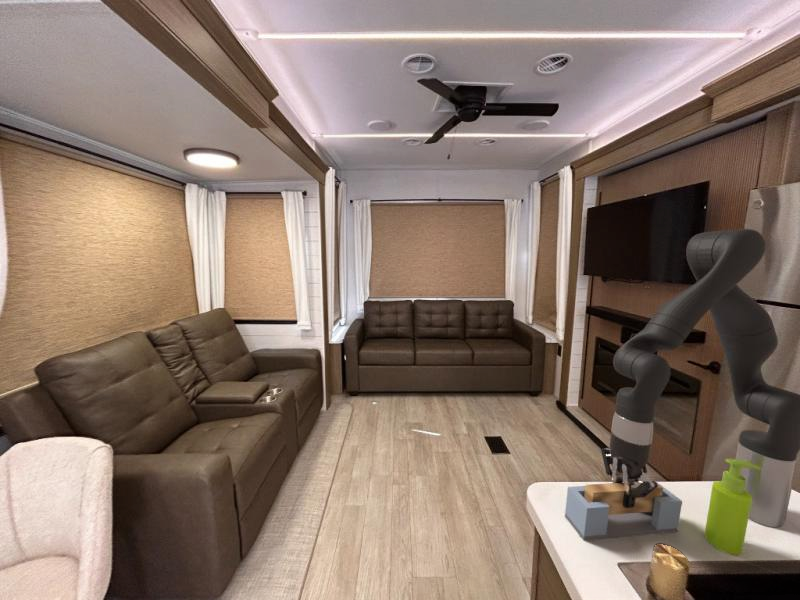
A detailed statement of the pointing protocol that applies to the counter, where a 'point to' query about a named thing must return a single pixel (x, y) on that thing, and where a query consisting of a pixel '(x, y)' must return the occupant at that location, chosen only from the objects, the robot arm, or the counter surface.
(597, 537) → the end caps
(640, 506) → the slat
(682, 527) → the counter surface
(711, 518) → the soap dispenser
